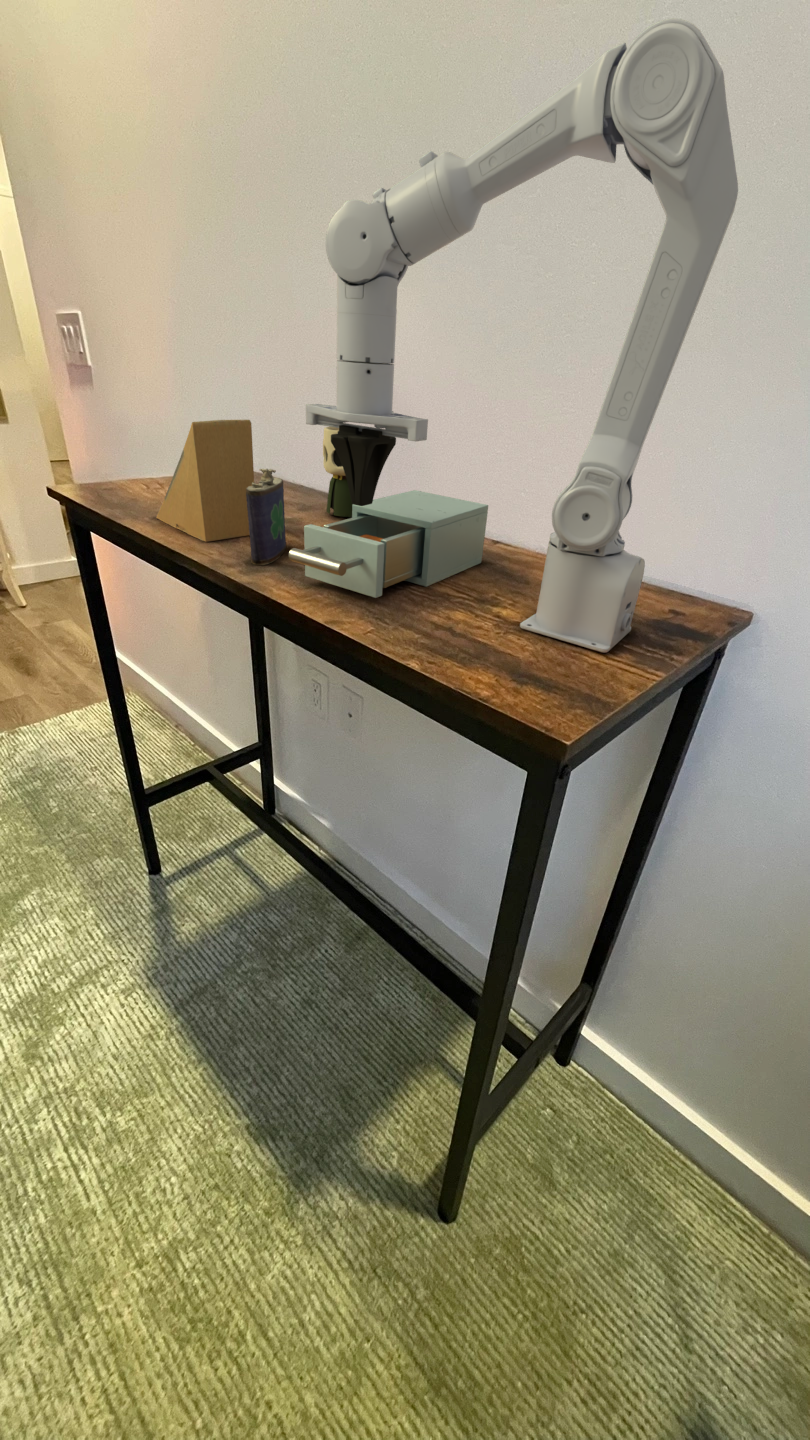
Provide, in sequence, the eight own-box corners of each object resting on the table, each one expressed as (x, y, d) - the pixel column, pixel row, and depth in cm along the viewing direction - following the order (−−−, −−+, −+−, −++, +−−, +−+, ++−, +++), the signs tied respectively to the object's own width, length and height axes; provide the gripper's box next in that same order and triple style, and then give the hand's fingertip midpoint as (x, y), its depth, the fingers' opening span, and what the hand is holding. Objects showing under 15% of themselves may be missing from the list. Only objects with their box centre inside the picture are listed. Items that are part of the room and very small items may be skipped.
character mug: (307, 511, 104) (306, 425, 97) (340, 506, 109) (340, 423, 102) (352, 526, 98) (353, 434, 91) (384, 519, 102) (388, 432, 96)
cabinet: (426, 587, 76) (431, 522, 72) (351, 565, 81) (352, 504, 77) (481, 562, 85) (488, 504, 82) (411, 545, 91) (414, 489, 87)
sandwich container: (206, 511, 100) (196, 406, 93) (259, 533, 91) (252, 419, 83) (154, 517, 95) (138, 407, 87) (204, 542, 86) (191, 420, 78)
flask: (271, 544, 87) (267, 461, 81) (291, 546, 87) (289, 463, 81) (247, 564, 79) (241, 473, 73) (269, 566, 79) (265, 476, 73)
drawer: (350, 608, 66) (351, 553, 63) (278, 584, 71) (276, 532, 68) (437, 572, 78) (441, 524, 75) (370, 554, 83) (371, 508, 80)
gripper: (448, 368, 62) (436, 510, 69) (336, 358, 69) (335, 488, 76) (407, 367, 57) (399, 521, 64) (290, 356, 64) (294, 496, 71)
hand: (362, 503), depth 70 cm, fingers closed
